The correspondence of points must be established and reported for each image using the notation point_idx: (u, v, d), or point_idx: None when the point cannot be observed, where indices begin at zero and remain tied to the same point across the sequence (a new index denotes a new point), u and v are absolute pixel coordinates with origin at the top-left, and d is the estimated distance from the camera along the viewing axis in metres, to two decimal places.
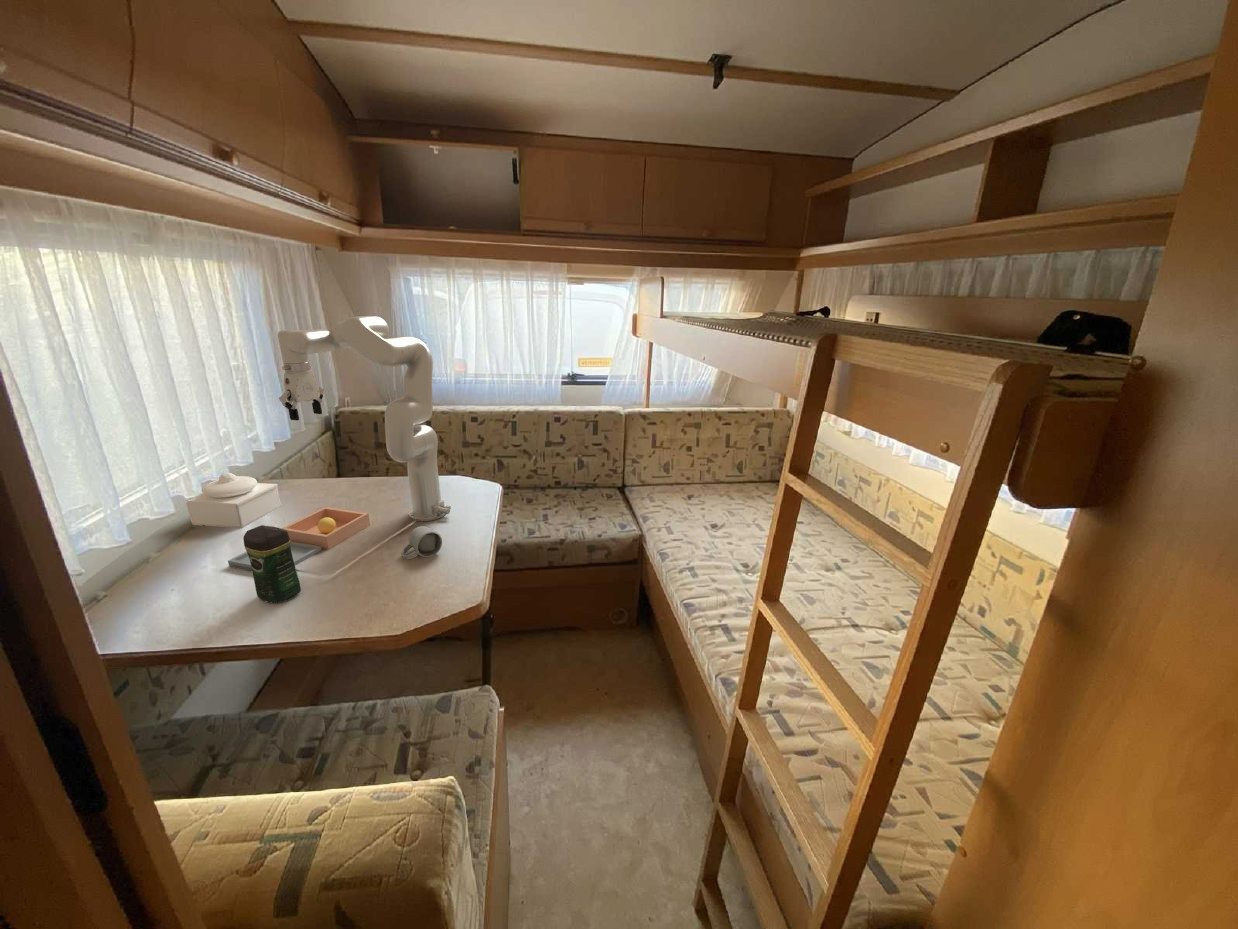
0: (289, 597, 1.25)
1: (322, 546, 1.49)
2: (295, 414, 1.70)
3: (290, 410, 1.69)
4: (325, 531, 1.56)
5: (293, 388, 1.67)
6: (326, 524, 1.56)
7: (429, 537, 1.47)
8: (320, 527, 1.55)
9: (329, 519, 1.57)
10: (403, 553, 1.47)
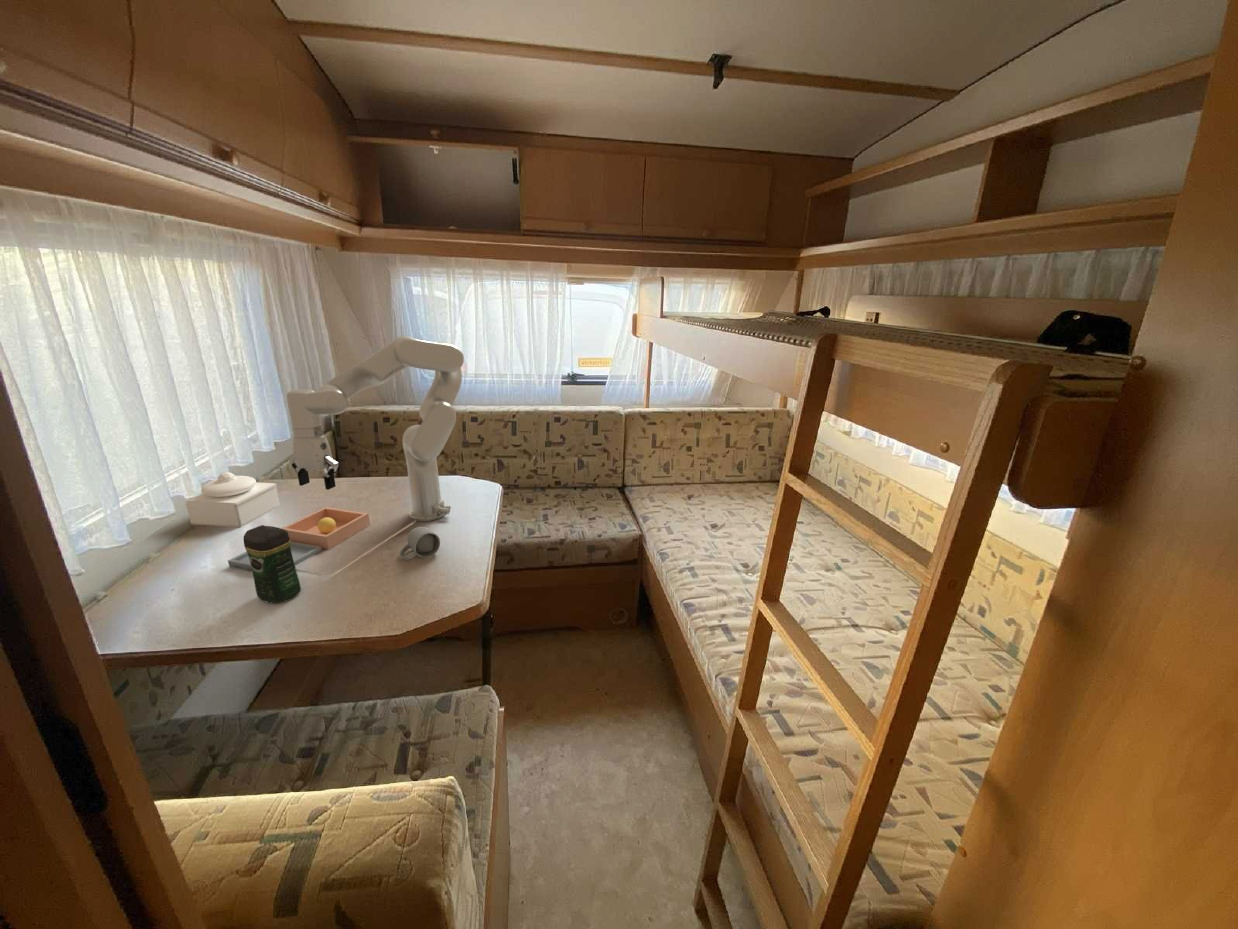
0: (289, 597, 1.25)
1: (322, 546, 1.49)
2: None
3: (331, 477, 1.51)
4: (325, 531, 1.56)
5: (330, 451, 1.50)
6: (326, 524, 1.56)
7: (427, 538, 1.47)
8: (320, 527, 1.55)
9: (329, 519, 1.57)
10: (401, 554, 1.46)
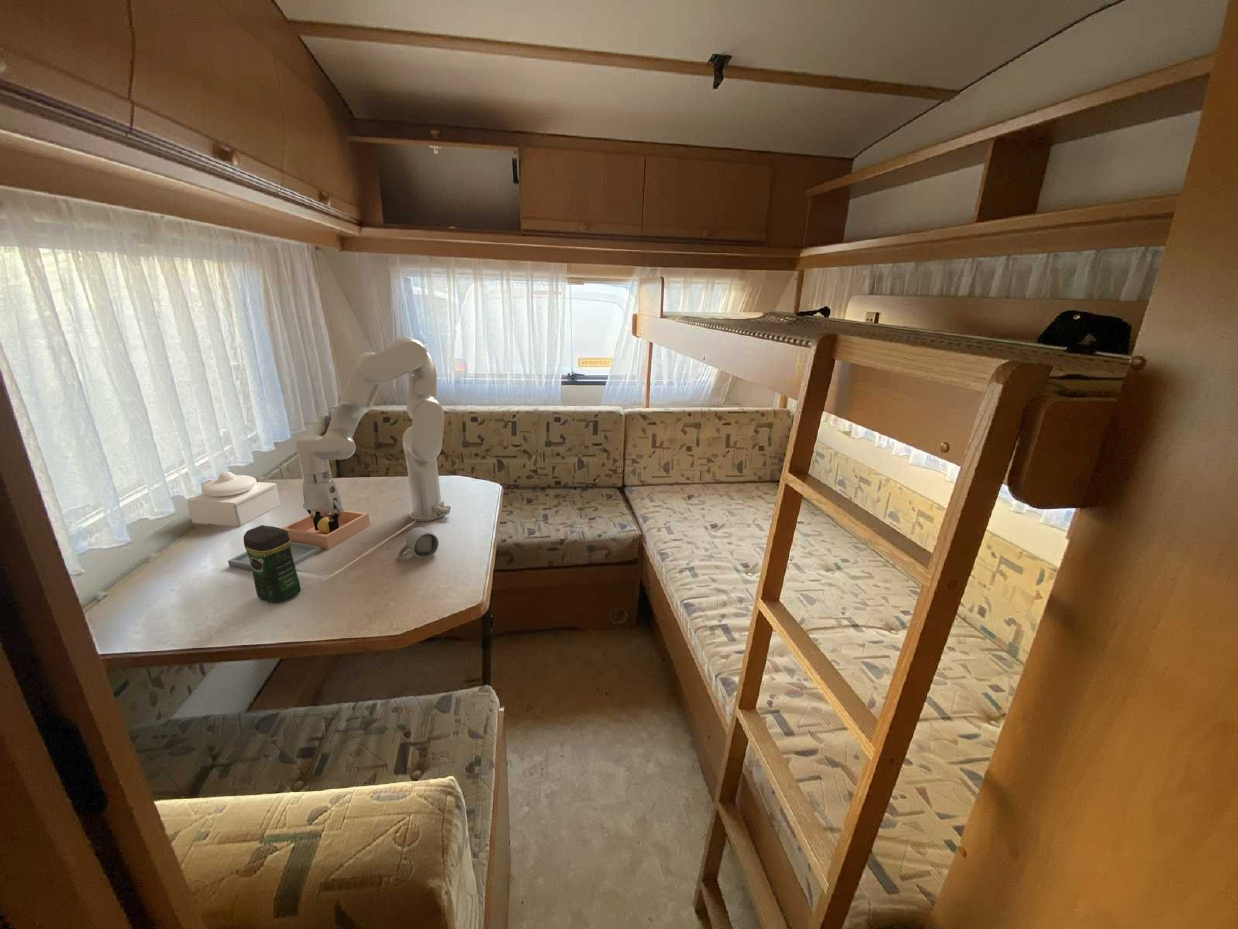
0: (289, 597, 1.25)
1: (322, 546, 1.49)
2: None
3: (335, 521, 1.56)
4: (325, 531, 1.56)
5: (339, 494, 1.55)
6: (326, 524, 1.56)
7: (425, 538, 1.46)
8: (320, 527, 1.55)
9: None
10: (399, 554, 1.46)
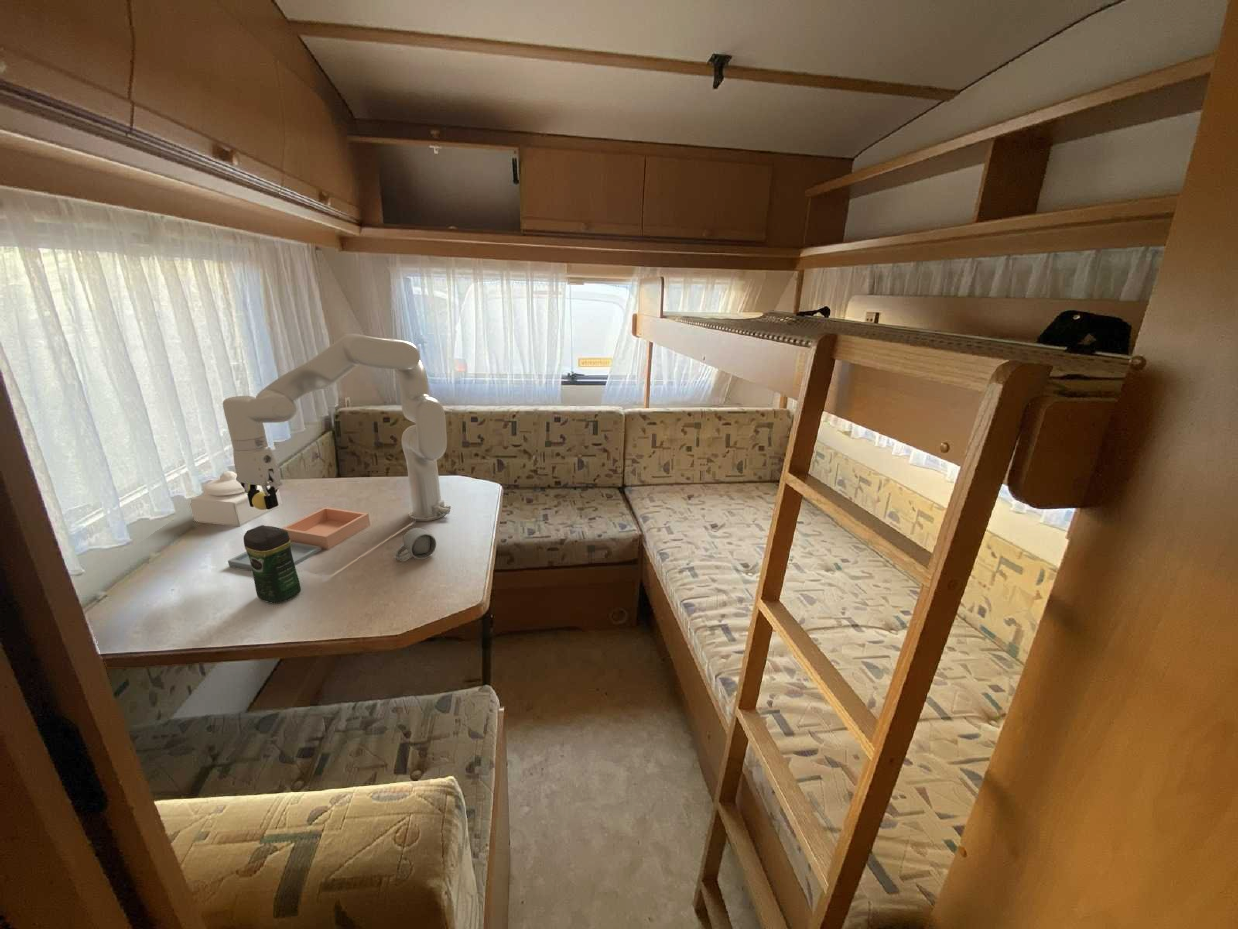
0: (289, 597, 1.25)
1: (322, 546, 1.49)
2: (275, 499, 1.38)
3: (272, 496, 1.37)
4: (261, 507, 1.37)
5: (276, 464, 1.35)
6: (262, 499, 1.36)
7: (423, 539, 1.46)
8: (254, 503, 1.36)
9: None
10: (397, 555, 1.45)
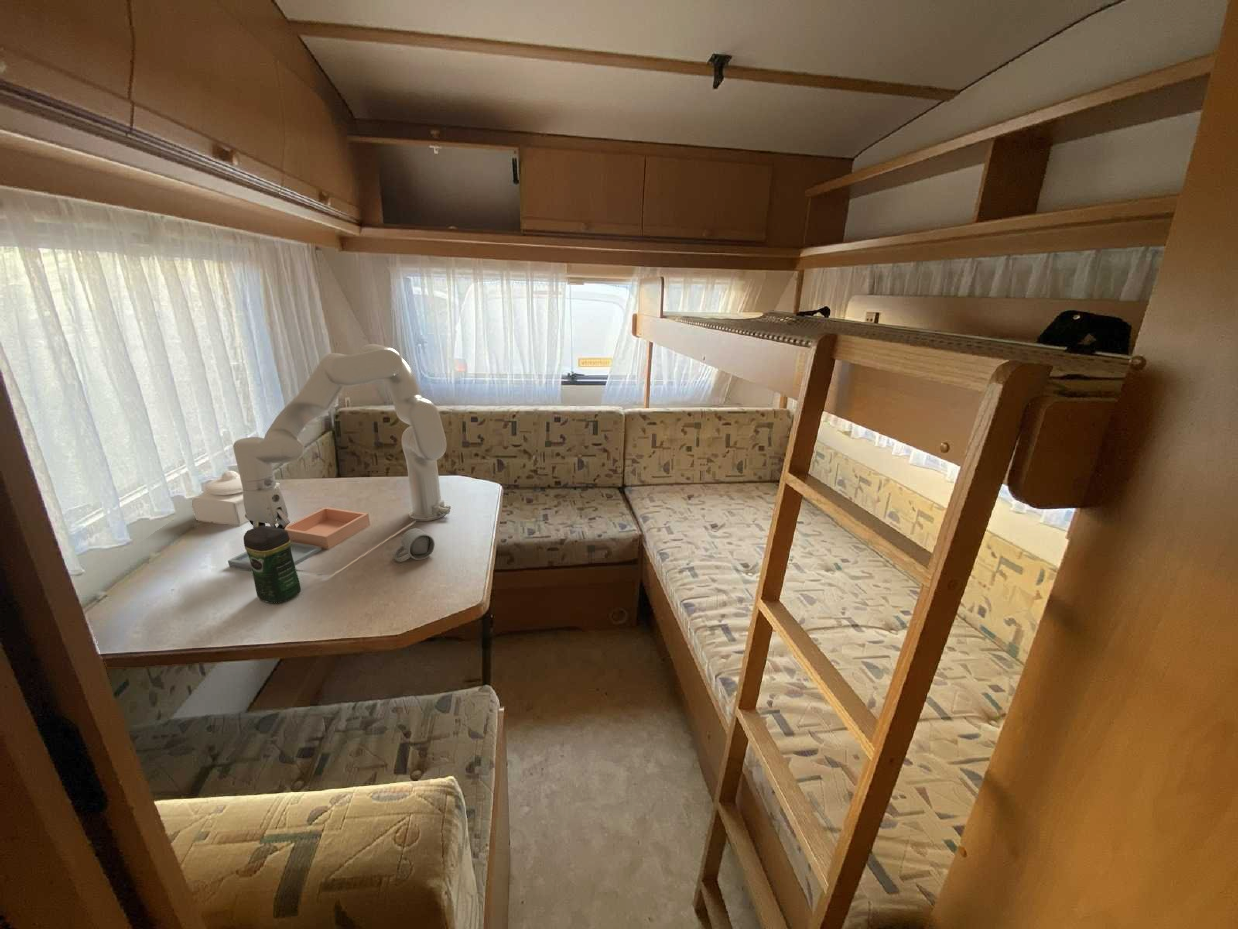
0: (289, 597, 1.25)
1: (322, 546, 1.49)
2: None
3: None
4: None
5: (284, 503, 1.39)
6: None
7: (421, 540, 1.46)
8: None
9: None
10: (395, 555, 1.45)
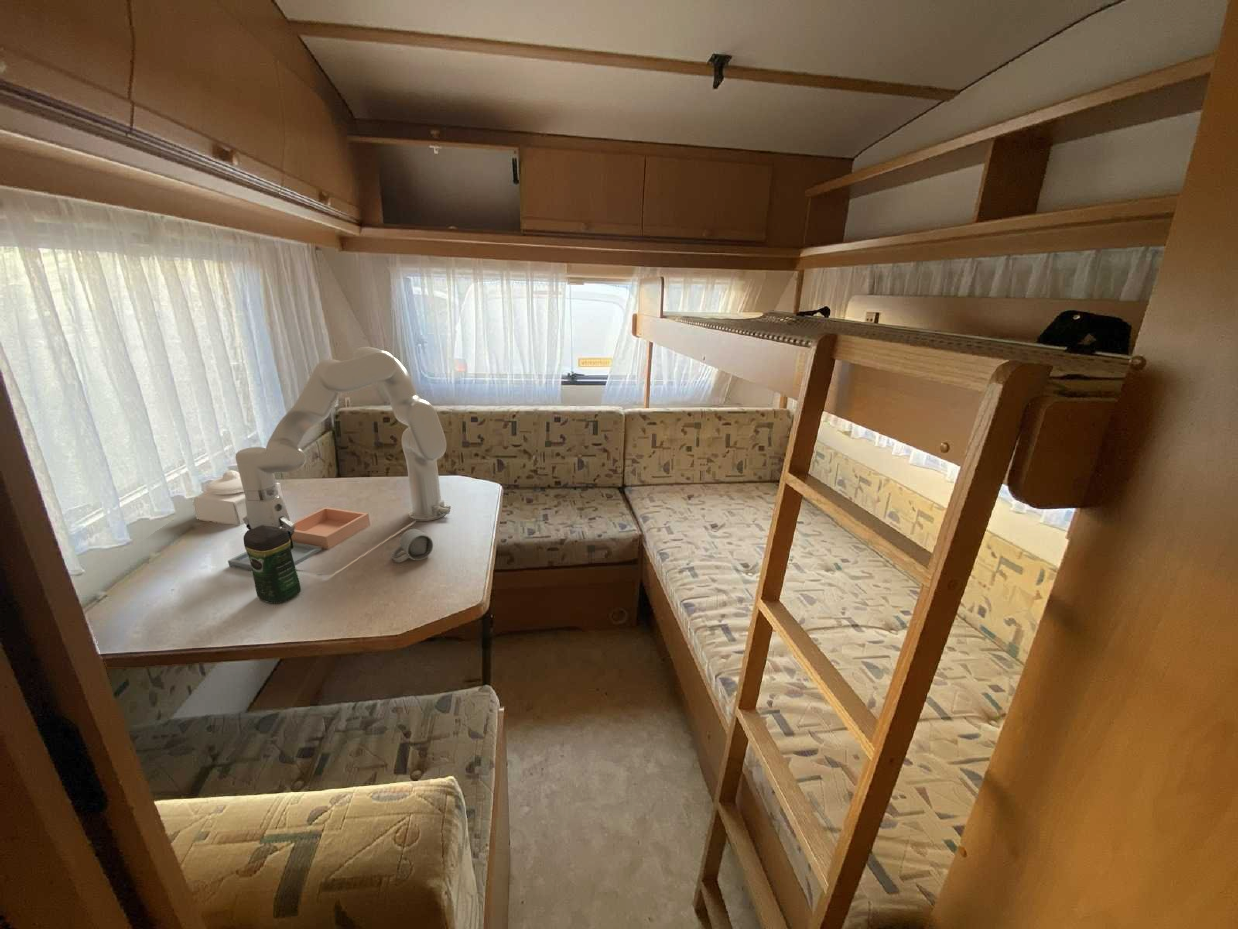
0: (289, 597, 1.25)
1: (322, 546, 1.49)
2: None
3: None
4: None
5: (286, 512, 1.40)
6: None
7: (420, 540, 1.45)
8: None
9: None
10: (393, 556, 1.45)
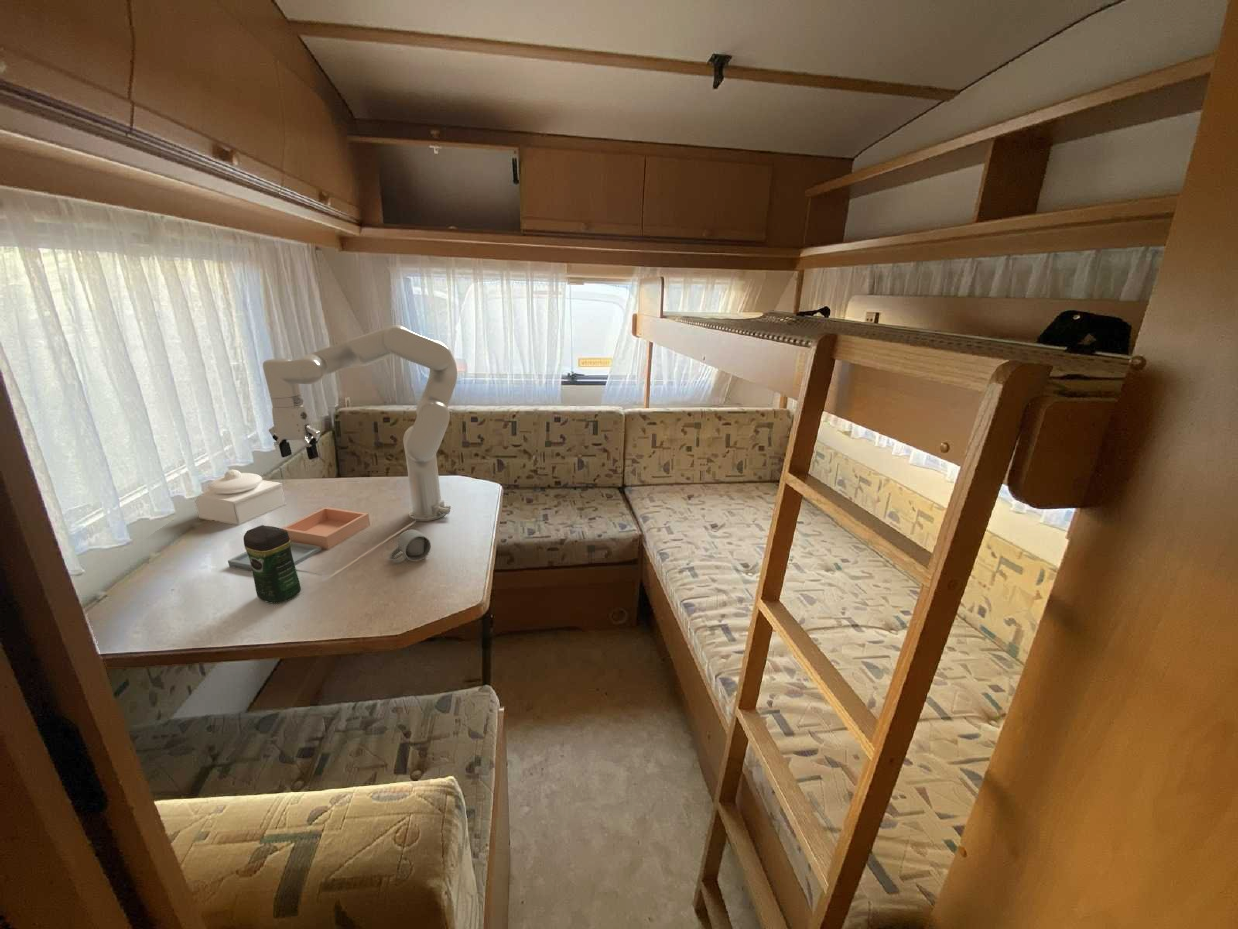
0: (289, 597, 1.25)
1: (322, 546, 1.49)
2: None
3: (313, 447, 1.50)
4: None
5: (311, 421, 1.50)
6: None
7: (417, 541, 1.45)
8: None
9: None
10: (391, 557, 1.44)
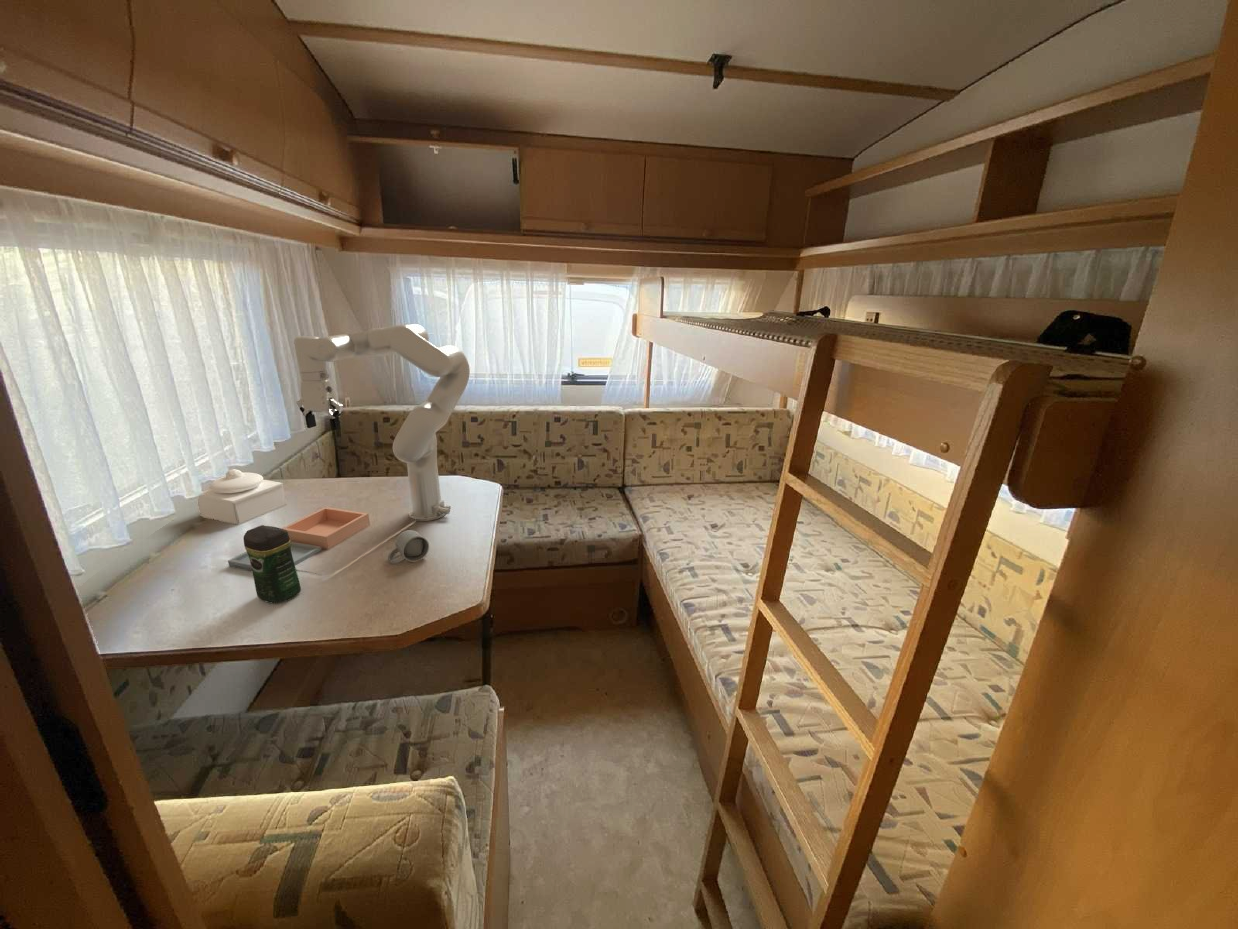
0: (289, 597, 1.25)
1: (322, 546, 1.49)
2: None
3: (336, 419, 1.62)
4: None
5: (335, 395, 1.62)
6: None
7: (415, 542, 1.45)
8: None
9: None
10: (389, 557, 1.44)
